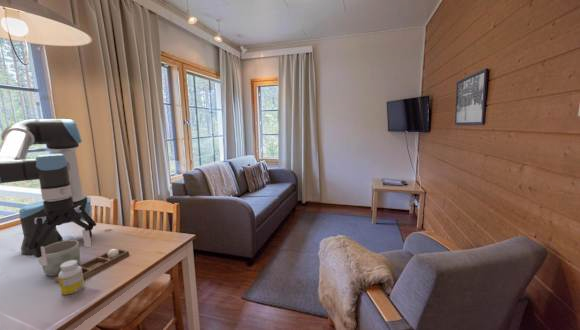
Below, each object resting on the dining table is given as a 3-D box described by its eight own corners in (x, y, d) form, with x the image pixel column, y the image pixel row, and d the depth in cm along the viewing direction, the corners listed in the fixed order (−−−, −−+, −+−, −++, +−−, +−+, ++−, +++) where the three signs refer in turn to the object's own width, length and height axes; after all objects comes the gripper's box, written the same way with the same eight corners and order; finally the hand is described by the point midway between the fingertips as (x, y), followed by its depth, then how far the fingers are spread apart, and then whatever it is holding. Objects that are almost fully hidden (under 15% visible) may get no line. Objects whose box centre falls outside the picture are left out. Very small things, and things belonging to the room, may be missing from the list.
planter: (48, 283, 97) (44, 257, 95) (38, 273, 103) (34, 249, 101) (87, 267, 107) (83, 244, 105) (76, 259, 113) (72, 237, 112)
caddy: (55, 283, 96) (54, 277, 96) (116, 252, 119) (115, 248, 118) (70, 288, 94) (69, 282, 93) (129, 255, 116) (128, 251, 116)
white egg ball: (105, 259, 112) (104, 250, 111) (115, 254, 116) (113, 246, 115) (112, 261, 111) (111, 252, 110) (121, 256, 115) (120, 247, 114)
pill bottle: (71, 286, 95) (66, 258, 93) (89, 285, 95) (84, 258, 93) (57, 298, 88) (51, 268, 86) (76, 297, 89) (71, 267, 87)
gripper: (15, 211, 73) (28, 276, 76) (102, 190, 96) (109, 240, 99) (0, 208, 75) (14, 272, 78) (89, 188, 98) (96, 238, 102)
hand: (67, 254), depth 89 cm, fingers open, 13 cm apart
